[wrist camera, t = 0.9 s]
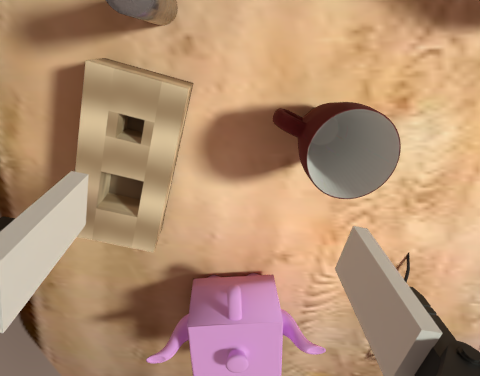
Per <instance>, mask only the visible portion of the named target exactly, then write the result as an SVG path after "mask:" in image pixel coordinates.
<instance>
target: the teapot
mask: <svg viewBox="0 0 480 376" xmlns="http://www.w3.org/2000/svg"><path fill="white" fill-rule="evenodd" d="M283 335H285V336H287V337H288V338H290V339H291V340H292V341H293V343H294V344H295V345H296V346H297V347H298V348H299V349H300V350H302V351H303V352H305V353H308V354H321V353H324V352H325V351H326V350H325V348H323V347H321V346H318V345H315V344H313V343H311V342H310V341H308V340H307V339H306V338H305V336H304V335H303V334H302V332H301V331H300V329H299V327H298V325H297V324H296V322H295V320H294V319H293V318H292V316H291V315H290V314H289V313H287V312H286V311H284V310H282V309H280V304H279V299H278V294H277V290H276V285H275V280H274V276H273V275H259V274H257V273H251V274H249V275H247V276H236V277H219V276H217V275H211V276H209V277H208V278H197V279H193V286H192V293H191V301H190V309H189V314H187V315H186V316H184V317H183V318H182V319H181V320H180V321H179V322H178V324H177V325H176V327H175V329H174V331H173V333H172V335H171V337H170V339H169V341H168V343H167V345H166V346H165V347H164V348H163V349H162V350H161V351H160V352H158V353H156V354H154V355H152V356H150V357H148V358H147V359H146V361H147V362H149V363H161V362H165V361H167V360H168V359H170V358H171V357H172V356H174V354H175V353H176V352H177V351H178V349H179V348H180V346H181V345H182V344H183V343H184V342H186V341H187V340H189V344H190V353H191V361H192V370H193V376H281V367H282V337H283Z"/></svg>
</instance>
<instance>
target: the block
mask: <svg viewBox="0 0 480 376" xmlns="http://www.w3.org/2000/svg"><path fill="white" fill-rule="evenodd" d="M192 87H193V83H191V82H188V81H184V80H180V79H177V78H173V77H170V76H166V75H163V74H159V73H156V72H152V71H148V70H145V69H141V68H138V67H134V66H131V65H127V64H124V63H120V62H116V61H113V60H109V59H106V58H102V59H93V60H86V62H85V73H84V83H83V93H82V104H81V114H80V125H79V135H78V146H77V156H76V166H75V172H79V173H84V174H88V193H87V211H86V225H85V226H84V228H83V229H82V230H81V232H80V233H79V234H78V236H77V237H79V238H84V239H89V240H94V241H99V242H104V243H109V244H114V245H119V246H124V247H129V248H134V249H138V250H143V251H148V252H153V253H154V250H155V247H156V245H157V242H158V239H159V236H160V233H161V230H162V225H163V221H164V216H165V211H166V207H167V202H168V198H169V193H170V188H171V184H172V179H173V174H174V170H175V165H176V161H177V156H178V151H179V147H180V142H181V137H182V133H183V128H184V124H185V119H186V114H187V110H188V105H189V100H190V96H191V91H192Z"/></svg>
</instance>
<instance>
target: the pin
mask: <svg viewBox="0 0 480 376" xmlns="http://www.w3.org/2000/svg"><path fill="white" fill-rule="evenodd" d="M106 1H107V3H108V4H109V5H110V6H111V7H112V8H113V9H114V10H115V11H117V12H119V13H121V14H124V15H127V16H130V17H134V18H137V19H140V20H144V21H147V22H150V23H154V24H157V25H167V24H169V23H171V22H172V21H173V20H174V19H175V17H176V14H177V2H176V0H106Z"/></svg>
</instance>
